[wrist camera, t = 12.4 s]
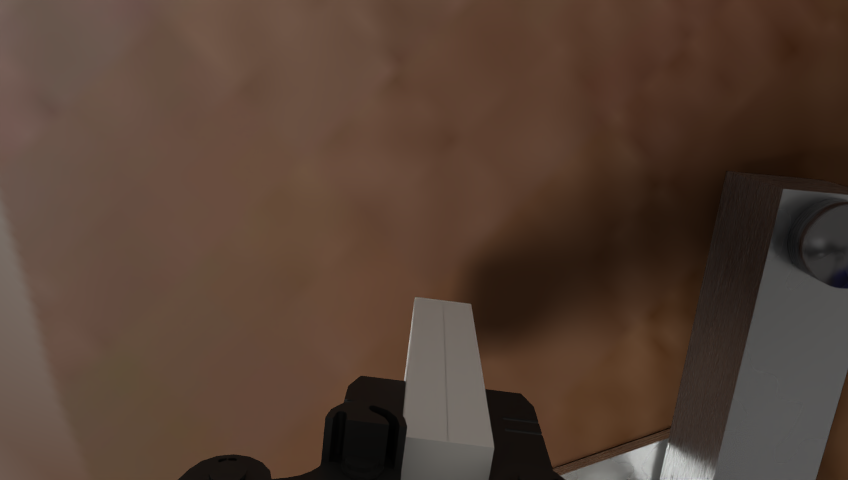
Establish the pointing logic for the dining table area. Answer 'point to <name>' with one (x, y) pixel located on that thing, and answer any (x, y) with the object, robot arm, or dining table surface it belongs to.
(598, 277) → the dining table surface
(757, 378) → the latch bar
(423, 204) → the dining table surface
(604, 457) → the pivot plate
